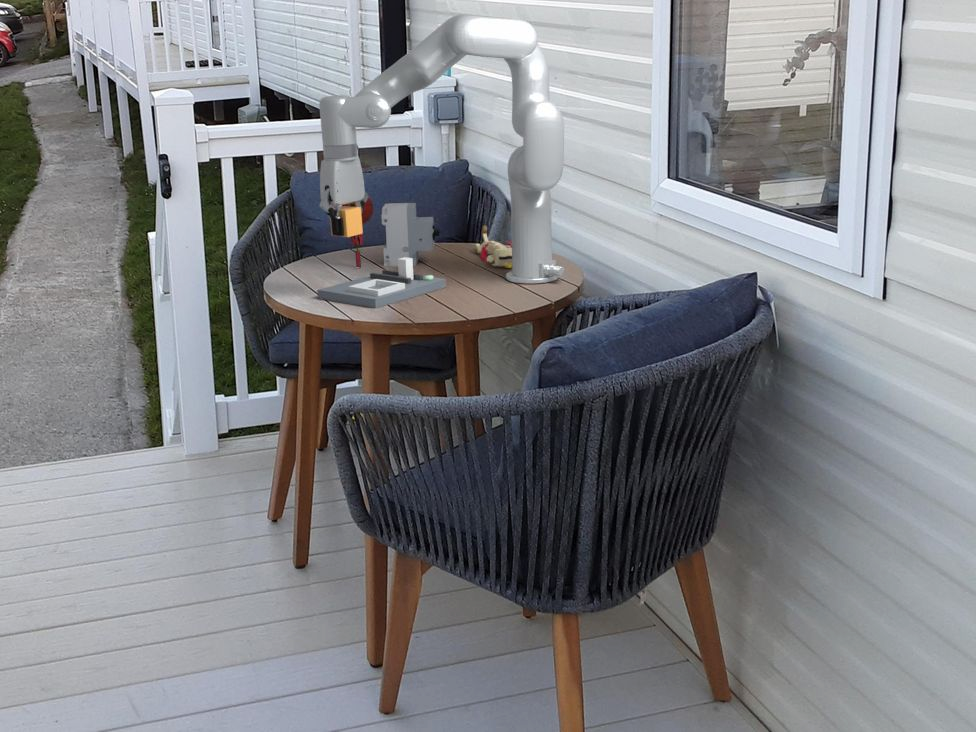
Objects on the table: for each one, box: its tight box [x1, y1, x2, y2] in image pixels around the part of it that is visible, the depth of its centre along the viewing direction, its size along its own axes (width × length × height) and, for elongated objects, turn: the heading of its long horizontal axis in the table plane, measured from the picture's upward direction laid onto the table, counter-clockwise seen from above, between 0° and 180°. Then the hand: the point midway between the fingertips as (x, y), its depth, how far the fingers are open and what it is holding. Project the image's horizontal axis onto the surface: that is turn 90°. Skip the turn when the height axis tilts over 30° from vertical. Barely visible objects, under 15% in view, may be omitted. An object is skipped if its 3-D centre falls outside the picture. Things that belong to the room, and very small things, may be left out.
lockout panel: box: [316, 269, 447, 309], centre depth 270 cm, size 18×24×3 cm
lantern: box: [342, 197, 375, 268], centre depth 294 cm, size 10×10×30 cm
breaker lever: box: [397, 257, 414, 280], centre depth 272 cm, size 2×2×5 cm
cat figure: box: [473, 225, 512, 268], centre depth 301 cm, size 10×9×25 cm
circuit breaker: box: [381, 202, 441, 267], centre depth 301 cm, size 8×14×15 cm, turn 89°
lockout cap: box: [329, 206, 364, 238], centre depth 265 cm, size 5×5×6 cm
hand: (347, 232), depth 265 cm, fingers closed on lockout cap, 4 cm apart
